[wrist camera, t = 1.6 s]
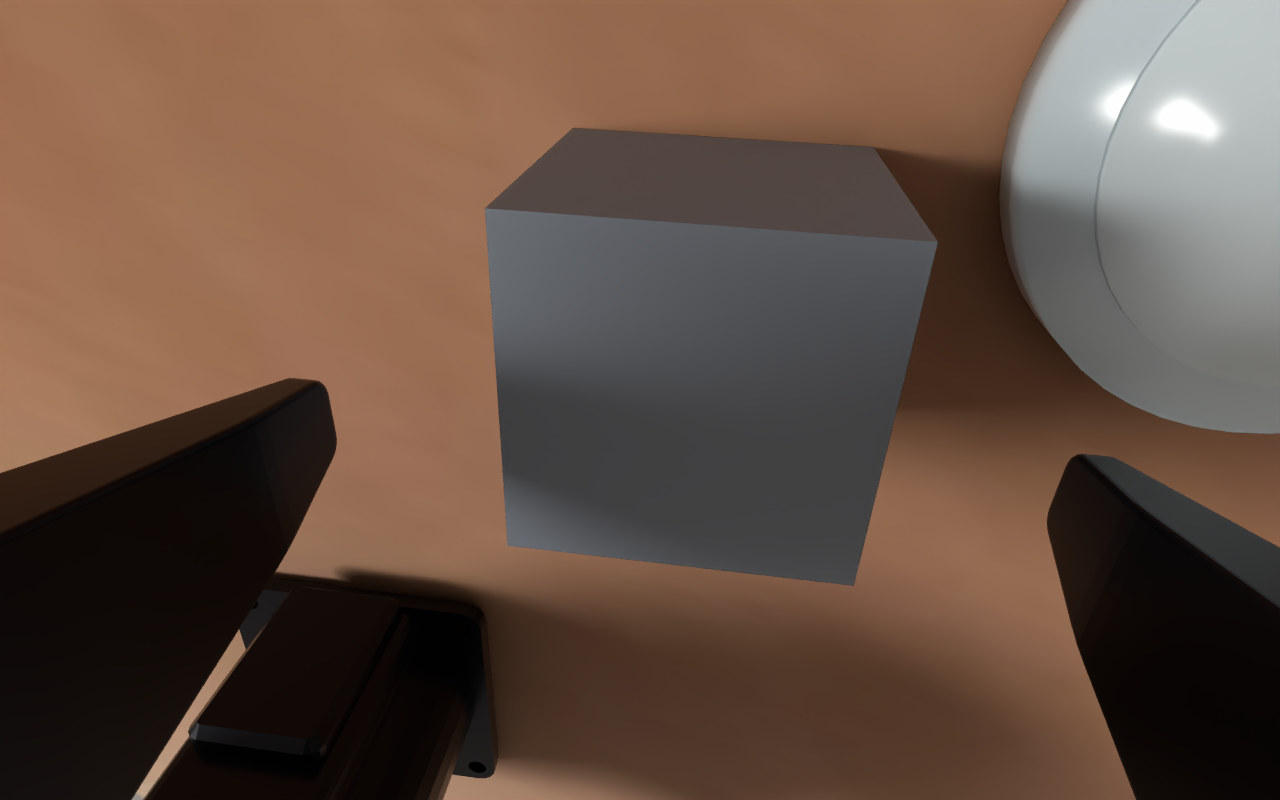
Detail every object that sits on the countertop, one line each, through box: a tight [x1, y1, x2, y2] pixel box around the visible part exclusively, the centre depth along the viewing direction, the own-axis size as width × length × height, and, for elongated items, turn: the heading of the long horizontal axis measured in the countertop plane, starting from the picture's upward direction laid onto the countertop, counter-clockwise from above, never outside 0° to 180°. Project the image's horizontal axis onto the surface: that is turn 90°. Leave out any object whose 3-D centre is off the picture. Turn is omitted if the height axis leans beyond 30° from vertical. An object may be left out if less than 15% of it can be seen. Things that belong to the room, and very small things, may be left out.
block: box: [485, 128, 938, 586], centre depth 12 cm, size 5×5×5 cm
